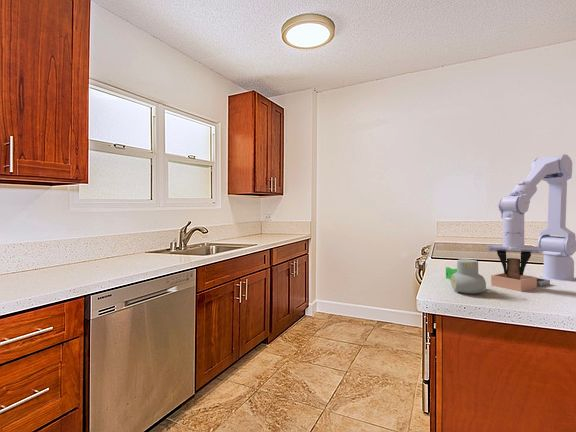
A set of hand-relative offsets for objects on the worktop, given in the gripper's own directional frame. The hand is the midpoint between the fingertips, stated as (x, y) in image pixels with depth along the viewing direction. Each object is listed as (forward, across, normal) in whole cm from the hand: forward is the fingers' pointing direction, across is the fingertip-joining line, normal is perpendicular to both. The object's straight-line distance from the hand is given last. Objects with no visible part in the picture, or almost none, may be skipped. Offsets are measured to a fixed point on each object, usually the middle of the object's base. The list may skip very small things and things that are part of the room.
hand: (513, 274), depth 105 cm
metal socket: (+5, +6, +7) cm, 10 cm away
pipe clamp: (+5, -17, +1) cm, 17 cm away
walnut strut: (+3, 0, 0) cm, 3 cm away
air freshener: (+5, -12, -11) cm, 17 cm away
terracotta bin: (+5, 0, 0) cm, 5 cm away
